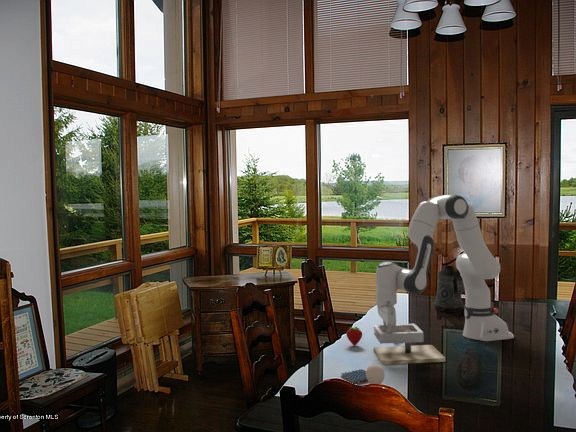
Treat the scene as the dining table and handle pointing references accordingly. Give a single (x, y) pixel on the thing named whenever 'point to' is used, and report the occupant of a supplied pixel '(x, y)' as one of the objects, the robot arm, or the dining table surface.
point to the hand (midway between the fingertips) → (387, 330)
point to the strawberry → (354, 335)
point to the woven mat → (355, 376)
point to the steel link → (398, 333)
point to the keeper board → (408, 354)
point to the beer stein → (449, 290)
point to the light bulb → (375, 374)
